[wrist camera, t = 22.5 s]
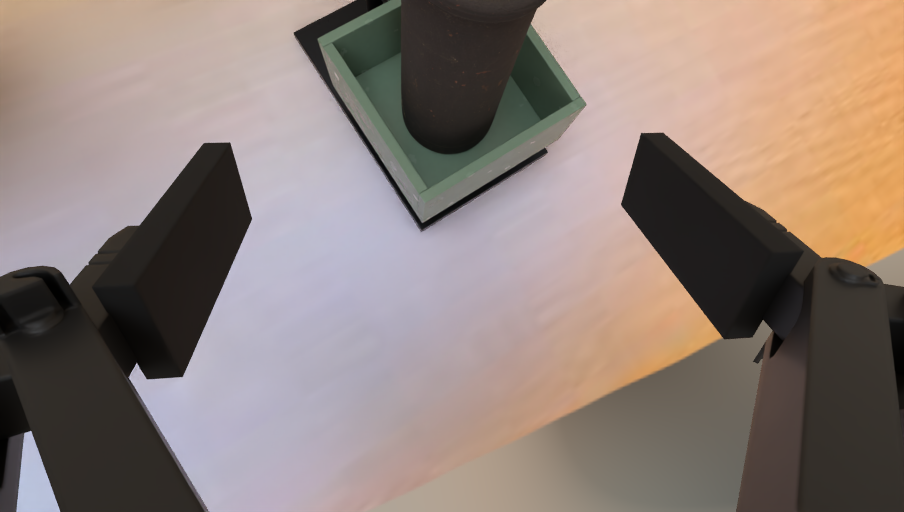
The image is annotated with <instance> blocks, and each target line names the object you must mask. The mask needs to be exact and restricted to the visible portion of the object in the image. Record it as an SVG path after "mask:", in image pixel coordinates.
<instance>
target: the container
mask: <svg viewBox="0 0 904 512" xmlns="http://www.w3.org/2000/svg"><path fill="white" fill-rule="evenodd" d="M545 1H546V0H401V105H402V115H403V120H404V123H405V126H406V128H407V129H408V131H409V133H410V134H411V135H412V137H413V138H414V139H415V140H416V141H417V142H418V143H419V144H421V145H422V146H424V147H425V148H427V149H429V150H431V151H434V152H437V153H442V154H456V153H461V152H464V151H467V150H469V149H471V148H473V147H474V146H476V145H477V144H478V143H479V142H480V141H481V140H482V139H483V138H484V137H485V135H486V134H487V133H488V131H489V129H490V127H491V124H492V122H493V120H494V117H495V114H496V112H497V109H498V106H499V103H500V100H501V98H502V95H503V93H504V90H505V87H506V85H507V82H508V79H509V77H510V74H511V72H512V69H513V67H514V64H515V62H516V59H517V57H518V54H519V52H520V49H521V47H522V44H523V41H524V39H525V37H526V34H527V31H528V29H529V26H530V24H531V22H532V19H533V17H534V14H535V12H536V10H537V8H538V7H540V6H541V5H542V4H543V3H544V2H545Z"/></svg>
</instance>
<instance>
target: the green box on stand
mask: <svg viewBox="0 0 904 512" xmlns="http://www.w3.org/2000/svg"><path fill="white" fill-rule="evenodd" d="M294 35H295V38H296V39H297V41H298V42H299V44H300V45H301V47H302V49H303V50H304V52H305V53H306V55H307V56H308V58H309V59H310V61H311V62H312V64H313V66H314V67H315V69H316V70H317V72H318V73H319V75H320V76H321V78H322V79H323V81H324V83H325V84H326V86H327V87H328V89H329V90H330V92H331V93H332V95H333V96H334V98H335V100H336V101H337V103H338V104H339V106H340V107H341V109H342V110H343V112H344V113H345V115H346V117H347V118H348V120H349V121H350V123H351V124H352V126H353V127H354V129H355V130H356V132H357V134H358V135H359V137H360V138H361V140H362V141H363V143H364V144H365V146H366V147H367V149H368V150H369V152H370V154H371V155H372V157H373V158H374V160H375V161H376V163H377V164H378V166H379V167H380V169H381V171H382V172H383V174H384V175H385V177H386V178H387V180H388V181H389V183H390V184H391V186H392V188H393V189H394V191H395V192H396V194H397V195H398V197H399V198H400V200H401V201H402V203H403V205H404V206H405V208H406V209H407V211H408V212H409V214H410V215H411V217H412V218H413V220H414V222H415V223H416V225H417V226H418V228H419V229H420V231H421V232H422V231H424V230H425V229H427V228H429V227H430V226H432V225H433V224H435V223H437V222H438V221H440V220H441V219H443V218H445V217H446V216H448V215H450V214H451V213H453V212H454V211H456V210H458V209H459V208H461V207H462V206H464V205H466V204H467V203H469V202H471V201H472V200H474V199H475V198H477V197H479V196H480V195H482V194H483V193H485V192H487V191H488V190H490V189H492V188H493V187H495V186H496V185H498V184H500V183H501V182H503V181H504V180H506V179H508V178H509V177H511V176H513V175H514V174H516V173H517V172H519V171H521V170H522V169H524V168H525V167H527V166H529V165H530V164H532V163H533V162H535V161H537V160H538V159H540V158H542V157H543V156H545V155H546V154H547V153H548V151H547V150H546V149H545V147H547V146H548V145H550V144H552V143H553V142H555V141H556V140H558V139H559V138H560V137H561V135H562V134H563V133H564V132H565V131H566V129H567V128H568V127H569V126H570V124H571V123H572V122H573V121H574V119H575V118H576V117H577V116H578V115H579V113H580V112H581V111H582V110H583V108H584V107H585V106H586V103H585V102H584V100H583V99H582V97H580V94H579V93H578V91H577V90H576V89H575V87H574V86H573V84H572V83H571V81H570V80H569V78H568V77H567V76H566V74H565V73H564V71H563V70H562V68H561V67H560V66H559V64H558V63H557V61H556V60H555V58H554V57H553V55H552V54H551V53H550V51H549V50H548V48H547V47H546V45H545V44H544V42H543V41H542V40H541V38H540V37H539V35H538V34H537V32H536V31H535V29H534V28H533V27H532V25H531V24H530V26H529V29H528V31H527V34H526V37H525V39H524V41H523V44H522V47H521V49H520V52H519V54H518V57H517V59H516V62H515V64H514V67H513V69H512V72H511V74H510V77H509V79H508V82H507V85H506V87H505V90H504V93H503V95H502V98H501V100H500V103H499V106H498V109H497V112H496V114H495V117H494V120H493V122H492V124H491V127H490V129H489V131H488V133H487V134H486V135H485V137H484V138H483V139H482V140H481V141H480V142H479V143H478V144H477V145H476V146H474V147H473V148H471V149H469V150H467V151H464V152H461V153H456V154H442V153H437V152H434V151H431V150H429V149H427V148H425V147H424V146H422V145H421V144H419V143H418V142H417V141H416V140H415V139H414V138H413V137H412V135H411V134H410V133H409V131H408V129H407V128H406V126H405V123H404V120H403V115H402V105H401V0H356V1H354V2H352V3H350V4H348V5H346V6H344V7H342V8H340V9H338V10H336V11H334V12H333V13H331V14H329V15H327V16H325V17H323V18H321V19H319V20H317V21H315V22H313V23H311V24H309V25H307V26H306V27H304V28H302V29H300V30H298V31H296V32H294Z"/></svg>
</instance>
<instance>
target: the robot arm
mask: <svg viewBox="0 0 904 512" xmlns="http://www.w3.org/2000/svg"><path fill="white" fill-rule="evenodd" d="M621 205H622V207H623V208H624V209H625V211H626V212H627V213H628V215H629V216H630V217H631V218H632V220H633V221H634V222H635V224H636V225H637V226H638V228H639V229H640V230H641V232H642V233H643V234H644V235H645V237H646V238H647V239H648V241H649V242H650V243H651V245H652V246H653V247H654V248H655V250H656V251H657V252H658V254H659V255H660V256H661V258H662V259H663V260H664V261H665V263H666V264H667V265H668V267H669V268H670V269H671V271H672V272H673V273H674V275H675V276H676V277H677V278H678V280H679V281H680V282H681V284H682V285H683V286H684V288H685V289H686V290H687V291H688V293H689V294H690V295H691V297H692V298H693V299H694V301H695V302H696V303H697V304H698V306H699V307H700V308H701V310H702V311H703V312H704V314H705V315H706V316H707V318H708V319H709V320H710V321H711V323H712V324H713V325H714V327H715V328H716V329H717V331H718V332H719V333H720V334H721V336H722V337H723V338H724V339H736V338H750V337H753V335H754V334H755V332H756V330H757V329H758V327H759V325H760V324H761V322H762V320H764V321H765V322H766V323H767V324H768V326H769V327H770V328H771V329H772V330H773V331H772V333H771V334H770V336H769V337H768V339H767V340H766V342H765V344H764V345H763V347H762V348H761V350H760V352H759V353H758V355H757V356H756V358H755V359H754V361H753V362H756V363H759V361H760V360H761V359H763V361H762V367H761V373H760V378H759V384H758V390H757V395H756V401H755V407H754V412H753V418H752V424H751V429H750V435H749V441H748V447H747V453H746V458H745V464H744V470H743V475H742V481H741V487H740V492H739V498H738V504H737V509H736V512H904V287H901V286H894V285H888V284H883V282H882V280H881V278H879V277H878V276H877V275H876V274H875V273H874V272H872V271H871V270H869V269H867V268H865V267H864V266H862V265H859V264H857V263H854V262H851V261H849V260H844V259H840V258H827V257H825V258H821V257H820V256H819V255H818V254H816V253H815V252H814V251H813V250H812V249H810V248H809V247H808V246H807V245H805V244H804V243H803V242H802V241H801V240H799V239H798V238H797V237H796V236H794V235H793V234H792V233H791V232H787V229H786V228H785V227H784V226H782V225H781V224H780V223H776V220H775V219H774V218H773V217H771V216H770V215H769V214H768V213H766V212H765V211H764V210H762V209H760V208H758V207H756V206H754V205H752V204H750V203H748V202H746V201H744V200H743V199H742V198H740V197H739V196H738V195H737V194H736V193H734V192H733V191H732V190H731V189H730V188H728V187H727V186H726V185H725V184H724V183H722V182H721V181H720V180H719V179H718V178H716V177H715V176H714V175H713V174H712V173H711V172H709V171H708V170H707V169H706V168H705V167H703V166H702V165H701V164H700V163H699V162H697V161H696V160H695V159H694V158H693V157H691V156H690V155H689V154H688V153H687V152H685V151H684V150H683V149H682V148H681V147H679V146H678V145H677V144H676V143H675V142H674V141H672V140H671V139H670V138H669V137H668V136H666V135H665V134H664V133H641V136H640V139H639V143H638V146H637V150H636V154H635V157H634V161H633V164H632V168H631V171H630V175H629V178H628V182H627V185H626V189H625V193H624V196H623V200H622V203H621ZM251 220H252V217H251V214H250V210H249V207H248V203H247V200H246V196H245V193H244V189H243V186H242V182H241V179H240V175H239V172H238V168H237V165H236V161H235V158H234V154H233V151H232V147H231V144H230V143H204V144H203V145H202V146H201V147H200V149H199V150H198V151H197V153H196V154H195V155H194V156H193V158H192V159H191V160H190V162H189V163H188V164H187V165H186V167H185V168H184V169H183V171H182V172H181V173H180V174H179V176H178V177H177V178H176V180H175V181H174V182H173V183H172V185H171V186H170V187H169V189H168V190H167V191H166V192H165V194H164V195H163V196H162V197H161V199H160V200H159V201H158V203H157V204H156V205H155V206H154V208H153V209H152V210H151V212H150V213H149V214H148V215H147V217H146V218H145V219H144V221H143V222H142V223H141V224H140V226H127V227H125V228H124V229H122V230H121V231H119V232H118V233H116V234H115V235H113V236H112V237H110V238H109V239H108V240H107V241H106V242H105V244H104V245H103V246H102V247H101V248H100V249H99V251H98V254H95V255H94V257H93V258H92V259H91V260H90V261H89V265H86V266H85V267H84V268H83V270H82V271H81V272H80V273H79V274H78V276H77V277H76V278H75V279H74V280H73V281H72V283H71V284H70V285H69V284H68V282H67V280H66V279H65V277H64V276H63V274H62V273H61V272H60V271H59V270H58V269H56V268H55V267H48V266H37V267H27V268H24V269H20V270H17V271H13V272H10V273H8V274H5V275H3V276H1V277H0V512H16V509H17V499H18V489H19V479H20V469H21V459H22V449H23V439H24V433H25V432H29V431H32V434H33V437H34V440H35V442H36V445H37V448H38V451H39V453H40V456H41V459H42V462H43V465H44V467H45V470H46V473H47V476H48V478H49V481H50V484H51V487H52V489H53V492H54V495H55V498H56V500H57V503H58V506H59V509H60V512H209V511H208V509H207V507H206V506H205V504H204V502H203V501H202V499H201V497H200V496H199V494H198V492H197V491H196V489H195V487H194V486H193V484H192V482H191V481H190V479H189V477H188V476H187V474H186V472H185V471H184V469H183V467H182V466H181V464H180V462H179V461H178V459H177V457H176V456H175V454H174V452H173V451H172V449H171V447H170V446H169V444H168V442H167V441H166V439H165V437H164V436H163V434H162V432H161V431H160V429H159V427H158V426H157V424H156V422H155V421H154V419H153V417H152V416H151V414H150V412H149V411H148V409H147V407H146V406H145V404H144V402H143V401H142V399H141V397H140V396H139V394H138V392H137V391H136V389H135V387H134V386H133V384H132V383H131V381H130V379H129V378H128V377H129V376H130V374H131V372H132V370H133V368H134V367H135V365H136V363H137V364H138V365H139V367H140V369H141V370H142V372H143V374H144V375H145V377H146V379H160V378H174V377H183V375H184V373H185V371H186V368H187V366H188V364H189V361H190V359H191V357H192V355H193V352H194V350H195V348H196V345H197V343H198V341H199V339H200V336H201V334H202V332H203V330H204V327H205V325H206V323H207V320H208V318H209V316H210V314H211V311H212V309H213V307H214V304H215V302H216V300H217V298H218V295H219V293H220V291H221V289H222V286H223V284H224V282H225V279H226V277H227V275H228V273H229V270H230V268H231V266H232V264H233V261H234V259H235V257H236V254H237V252H238V250H239V248H240V245H241V243H242V241H243V238H244V236H245V234H246V232H247V229H248V227H249V225H250V223H251Z"/></svg>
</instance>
